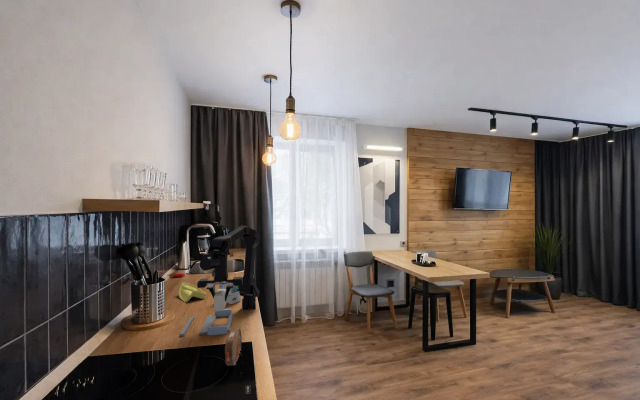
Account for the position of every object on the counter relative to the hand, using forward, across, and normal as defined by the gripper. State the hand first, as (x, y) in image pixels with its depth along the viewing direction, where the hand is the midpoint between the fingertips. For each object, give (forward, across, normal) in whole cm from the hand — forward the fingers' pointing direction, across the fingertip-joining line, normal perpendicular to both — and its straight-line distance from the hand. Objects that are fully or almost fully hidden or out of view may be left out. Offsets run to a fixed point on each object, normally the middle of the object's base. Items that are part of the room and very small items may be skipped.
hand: (220, 301), depth 130 cm
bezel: (+10, 0, 0) cm, 10 cm away
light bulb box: (+10, -1, -34) cm, 35 cm away
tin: (+10, -8, +33) cm, 35 cm away
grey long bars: (+10, +5, 0) cm, 11 cm away
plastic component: (+10, +22, -48) cm, 53 cm away
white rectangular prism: (+2, 0, 0) cm, 2 cm away
